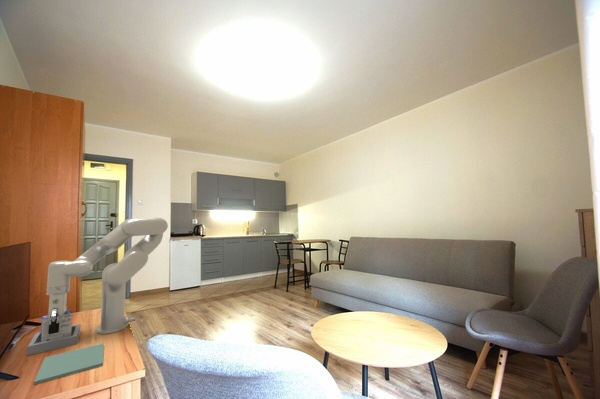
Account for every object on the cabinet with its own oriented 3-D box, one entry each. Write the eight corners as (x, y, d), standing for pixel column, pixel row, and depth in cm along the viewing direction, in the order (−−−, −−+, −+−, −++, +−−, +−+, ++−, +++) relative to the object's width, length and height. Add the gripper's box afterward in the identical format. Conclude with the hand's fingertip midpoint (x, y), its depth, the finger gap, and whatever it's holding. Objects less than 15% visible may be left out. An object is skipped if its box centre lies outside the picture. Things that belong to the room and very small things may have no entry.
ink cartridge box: (70, 336, 118) (71, 304, 118) (72, 340, 114) (73, 307, 115) (39, 344, 110) (41, 310, 111) (40, 349, 107) (42, 313, 107)
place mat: (103, 345, 109) (103, 343, 109) (102, 365, 95) (102, 362, 95) (45, 359, 99) (45, 357, 99) (33, 384, 84) (33, 381, 84)
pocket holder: (80, 331, 123) (80, 323, 123) (76, 344, 111) (77, 335, 111) (36, 340, 114) (36, 332, 114) (27, 355, 102) (27, 346, 102)
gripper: (67, 292, 109) (64, 334, 107) (72, 283, 123) (69, 320, 121) (42, 295, 104) (38, 339, 103) (50, 286, 118) (47, 324, 117)
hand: (55, 329), depth 112 cm, fingers open, 9 cm apart
